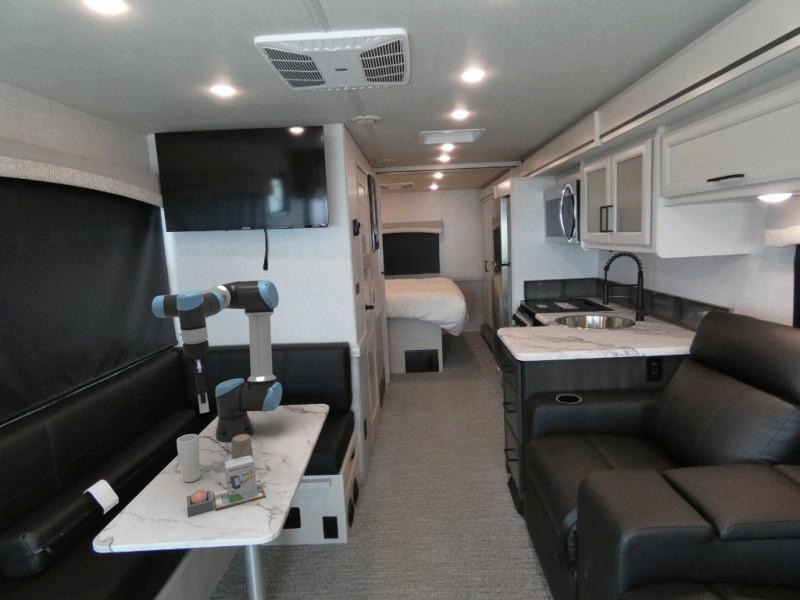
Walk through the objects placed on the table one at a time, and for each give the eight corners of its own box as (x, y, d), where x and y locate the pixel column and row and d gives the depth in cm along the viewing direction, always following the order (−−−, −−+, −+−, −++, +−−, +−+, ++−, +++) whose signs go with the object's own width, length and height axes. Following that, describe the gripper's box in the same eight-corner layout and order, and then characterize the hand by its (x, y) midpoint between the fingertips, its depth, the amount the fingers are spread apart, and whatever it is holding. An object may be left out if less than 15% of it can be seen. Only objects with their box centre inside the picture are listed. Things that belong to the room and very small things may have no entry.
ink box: (255, 488, 153) (251, 454, 151) (258, 495, 148) (254, 460, 146) (227, 495, 149) (223, 460, 147) (229, 503, 144) (225, 467, 143)
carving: (258, 465, 170) (255, 433, 168) (243, 475, 163) (239, 442, 162) (244, 462, 173) (241, 431, 171) (229, 472, 166) (225, 440, 164)
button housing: (187, 505, 146) (186, 496, 145) (211, 499, 149) (210, 490, 148) (188, 516, 140) (187, 507, 139) (213, 510, 143) (212, 500, 142)
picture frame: (212, 494, 152) (212, 490, 152) (259, 481, 158) (259, 478, 158) (215, 511, 142) (215, 507, 142) (265, 497, 148) (265, 493, 148)
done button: (192, 504, 145) (190, 492, 145) (207, 500, 147) (205, 488, 147) (192, 511, 141) (191, 499, 141) (208, 507, 143) (206, 495, 143)
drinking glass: (206, 475, 164) (202, 434, 162) (192, 485, 158) (187, 443, 156) (191, 473, 167) (186, 432, 165) (176, 482, 160) (171, 441, 158)
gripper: (181, 338, 152) (191, 407, 156) (182, 347, 140) (193, 421, 144) (206, 335, 155) (215, 402, 159) (209, 343, 143) (219, 416, 147)
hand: (204, 411), depth 152 cm, fingers closed
